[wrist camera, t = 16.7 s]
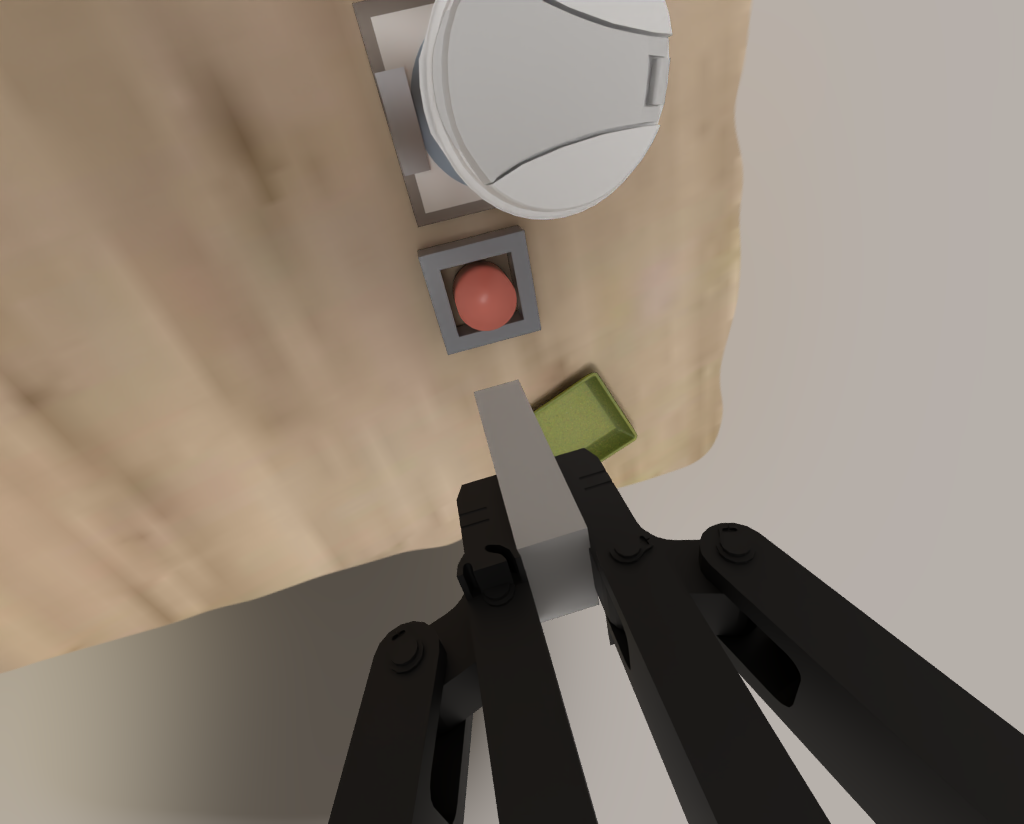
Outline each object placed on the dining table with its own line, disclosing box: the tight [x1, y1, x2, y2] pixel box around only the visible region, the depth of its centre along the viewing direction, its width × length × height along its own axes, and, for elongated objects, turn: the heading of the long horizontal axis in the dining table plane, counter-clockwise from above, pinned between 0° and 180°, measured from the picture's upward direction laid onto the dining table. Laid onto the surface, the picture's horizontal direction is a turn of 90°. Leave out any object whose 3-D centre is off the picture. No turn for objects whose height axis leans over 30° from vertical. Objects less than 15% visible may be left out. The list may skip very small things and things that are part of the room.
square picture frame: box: [352, 0, 496, 227], centre depth 26 cm, size 11×12×1 cm
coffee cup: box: [419, 0, 672, 220], centre depth 20 cm, size 8×8×15 cm
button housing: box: [418, 225, 541, 355], centre depth 32 cm, size 7×7×2 cm
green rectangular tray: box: [534, 373, 637, 462], centre depth 40 cm, size 9×9×2 cm
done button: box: [453, 261, 517, 331], centre depth 31 cm, size 4×4×3 cm
